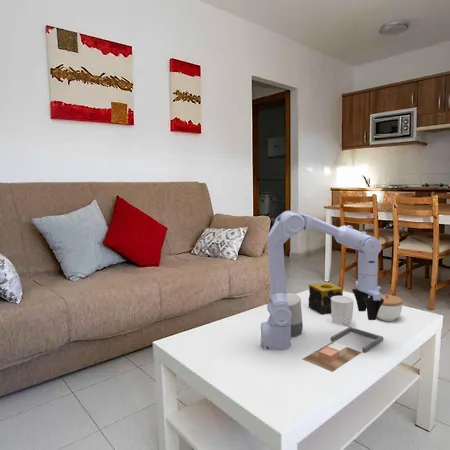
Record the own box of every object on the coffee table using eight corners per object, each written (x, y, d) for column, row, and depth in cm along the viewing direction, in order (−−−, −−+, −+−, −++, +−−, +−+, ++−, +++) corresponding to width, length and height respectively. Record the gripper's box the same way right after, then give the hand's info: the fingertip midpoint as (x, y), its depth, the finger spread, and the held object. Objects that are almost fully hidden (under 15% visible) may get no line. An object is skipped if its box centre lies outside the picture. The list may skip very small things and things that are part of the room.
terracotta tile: (330, 362, 102) (330, 356, 102) (318, 357, 105) (318, 351, 105) (338, 357, 105) (338, 351, 105) (326, 353, 108) (326, 347, 108)
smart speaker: (269, 335, 125) (269, 296, 123) (285, 327, 131) (284, 290, 130) (292, 343, 118) (292, 302, 117) (307, 335, 125) (307, 295, 123)
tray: (364, 357, 108) (364, 348, 107) (330, 345, 116) (330, 337, 116) (383, 345, 115) (383, 336, 115) (349, 334, 124) (349, 326, 124)
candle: (307, 307, 152) (307, 284, 151) (328, 304, 155) (328, 281, 154) (321, 315, 143) (321, 290, 142) (343, 312, 146) (343, 288, 145)
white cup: (338, 330, 127) (338, 303, 126) (326, 322, 135) (326, 296, 134) (357, 327, 129) (358, 301, 128) (344, 320, 137) (345, 294, 136)
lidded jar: (406, 324, 131) (406, 299, 130) (375, 323, 133) (375, 298, 132) (397, 313, 142) (397, 290, 141) (368, 312, 144) (368, 290, 143)
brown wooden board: (332, 377, 98) (332, 371, 97) (302, 363, 105) (302, 359, 105) (361, 357, 108) (361, 352, 108) (332, 346, 116) (332, 342, 115)
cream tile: (339, 357, 105) (339, 350, 105) (327, 352, 108) (327, 346, 108) (346, 352, 108) (346, 346, 108) (334, 348, 111) (334, 342, 111)
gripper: (391, 279, 106) (390, 323, 107) (370, 267, 120) (369, 307, 121) (367, 279, 105) (366, 324, 107) (349, 268, 120) (348, 307, 121)
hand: (366, 315), depth 114 cm, fingers open, 7 cm apart
